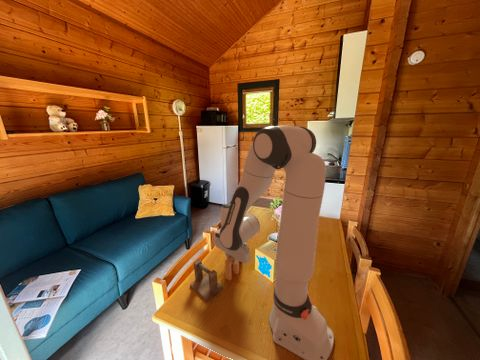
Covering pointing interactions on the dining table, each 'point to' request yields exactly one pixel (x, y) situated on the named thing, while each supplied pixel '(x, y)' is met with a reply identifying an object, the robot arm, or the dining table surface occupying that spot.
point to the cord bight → (228, 267)
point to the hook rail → (205, 281)
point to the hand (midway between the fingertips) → (232, 261)
